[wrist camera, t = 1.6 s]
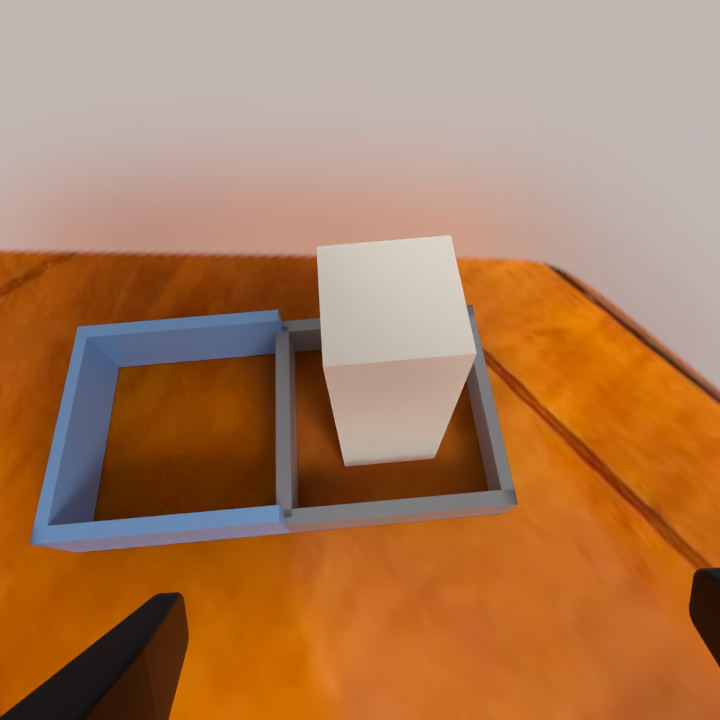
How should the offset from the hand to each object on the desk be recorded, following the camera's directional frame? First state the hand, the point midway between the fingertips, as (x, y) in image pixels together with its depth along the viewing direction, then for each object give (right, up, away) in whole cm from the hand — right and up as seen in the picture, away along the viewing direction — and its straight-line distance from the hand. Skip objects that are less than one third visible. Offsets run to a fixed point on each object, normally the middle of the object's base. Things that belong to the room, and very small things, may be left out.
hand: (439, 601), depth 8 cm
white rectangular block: (0, +1, +14) cm, 14 cm away
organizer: (-5, +1, +14) cm, 15 cm away
